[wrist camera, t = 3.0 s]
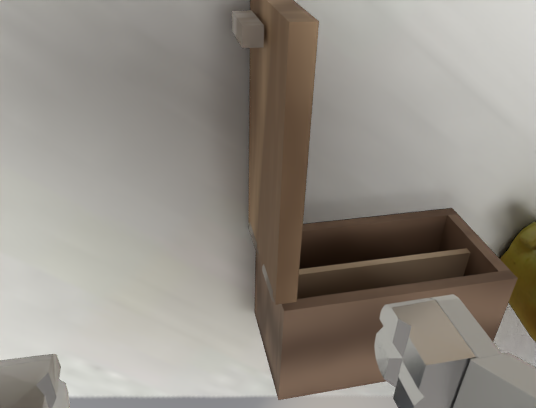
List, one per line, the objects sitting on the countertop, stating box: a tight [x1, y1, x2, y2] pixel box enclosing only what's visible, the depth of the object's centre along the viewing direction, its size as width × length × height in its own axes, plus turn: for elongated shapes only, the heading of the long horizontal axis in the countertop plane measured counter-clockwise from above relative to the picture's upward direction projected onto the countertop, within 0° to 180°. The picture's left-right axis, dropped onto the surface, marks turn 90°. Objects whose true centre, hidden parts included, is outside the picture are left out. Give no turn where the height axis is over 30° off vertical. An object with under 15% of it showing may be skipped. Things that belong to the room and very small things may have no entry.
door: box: [232, 0, 319, 305], centre depth 27 cm, size 2×16×8 cm, turn 178°
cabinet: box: [255, 208, 518, 400], centre depth 36 cm, size 8×15×8 cm, turn 88°
